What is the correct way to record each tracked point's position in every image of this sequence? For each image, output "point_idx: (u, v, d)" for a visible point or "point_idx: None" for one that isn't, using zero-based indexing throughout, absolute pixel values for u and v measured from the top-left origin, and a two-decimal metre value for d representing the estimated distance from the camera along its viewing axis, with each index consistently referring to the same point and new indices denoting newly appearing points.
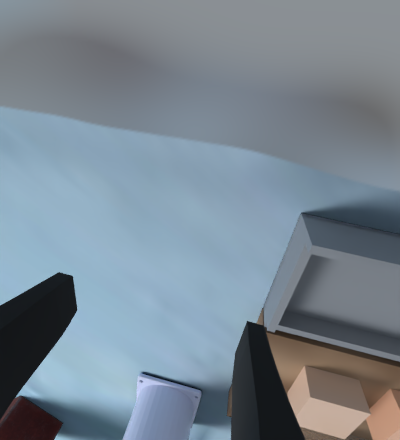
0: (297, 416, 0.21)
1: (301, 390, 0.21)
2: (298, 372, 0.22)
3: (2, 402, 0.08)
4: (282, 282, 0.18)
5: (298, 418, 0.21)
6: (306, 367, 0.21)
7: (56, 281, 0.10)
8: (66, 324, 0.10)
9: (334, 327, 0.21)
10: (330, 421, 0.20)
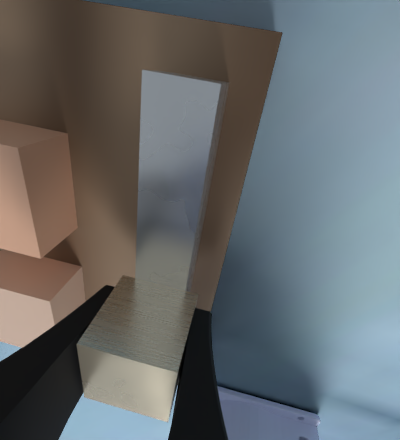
0: None
1: None
2: None
3: (61, 420, 0.08)
4: None
5: None
6: None
7: (107, 294, 0.09)
8: None
9: None
10: (16, 318, 0.13)
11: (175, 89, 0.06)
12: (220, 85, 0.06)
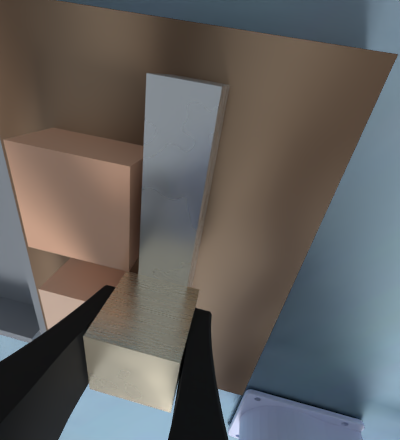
0: None
1: None
2: None
3: (61, 420, 0.08)
4: None
5: None
6: None
7: (107, 294, 0.09)
8: None
9: None
10: None
11: (178, 91, 0.07)
12: (221, 88, 0.07)
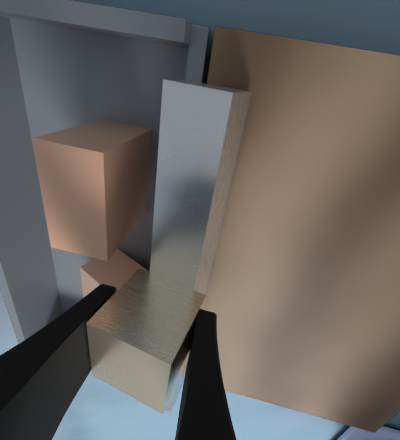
0: None
1: None
2: (230, 353, 0.16)
3: (55, 419, 0.08)
4: None
5: None
6: None
7: (102, 293, 0.09)
8: None
9: None
10: None
11: (191, 97, 0.07)
12: (233, 94, 0.07)
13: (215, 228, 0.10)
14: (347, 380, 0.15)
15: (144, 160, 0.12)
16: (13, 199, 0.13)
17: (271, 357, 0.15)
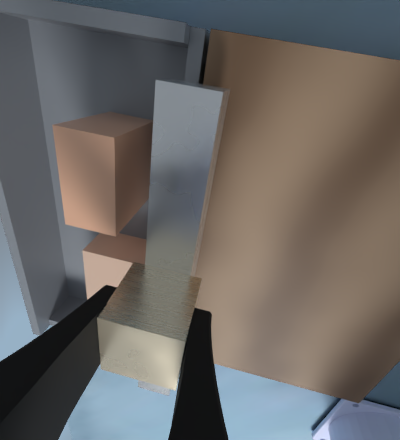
0: None
1: None
2: (225, 328, 0.17)
3: (61, 420, 0.08)
4: None
5: None
6: None
7: (107, 294, 0.09)
8: None
9: None
10: None
11: (184, 96, 0.07)
12: (222, 93, 0.07)
13: (204, 216, 0.11)
14: (332, 352, 0.16)
15: (148, 148, 0.13)
16: (28, 184, 0.15)
17: (263, 331, 0.17)
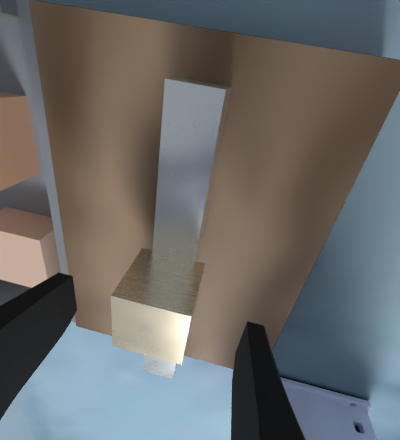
0: (32, 286, 0.18)
1: None
2: None
3: (2, 402, 0.08)
4: None
5: (34, 285, 0.18)
6: None
7: (56, 281, 0.10)
8: (66, 324, 0.10)
9: None
10: (15, 257, 0.17)
11: (190, 93, 0.08)
12: (225, 90, 0.08)
13: (207, 206, 0.12)
14: (221, 323, 0.17)
15: (19, 122, 0.14)
16: None
17: None
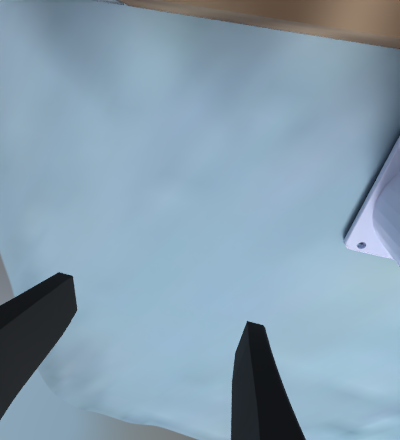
0: None
1: None
2: None
3: (2, 402, 0.08)
4: None
5: None
6: None
7: (56, 281, 0.10)
8: (66, 324, 0.10)
9: None
10: None
11: None
12: None
13: None
14: None
15: None
16: None
17: None
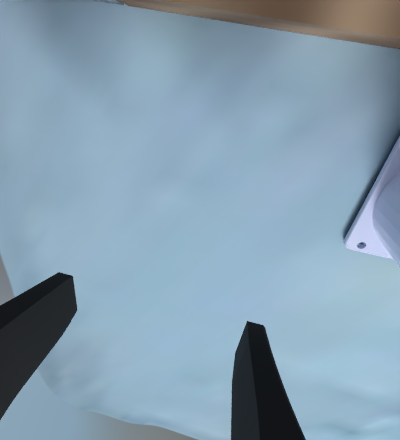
0: None
1: None
2: None
3: (2, 402, 0.08)
4: None
5: None
6: None
7: (56, 281, 0.10)
8: (66, 324, 0.10)
9: None
10: None
11: None
12: None
13: None
14: None
15: None
16: None
17: None
